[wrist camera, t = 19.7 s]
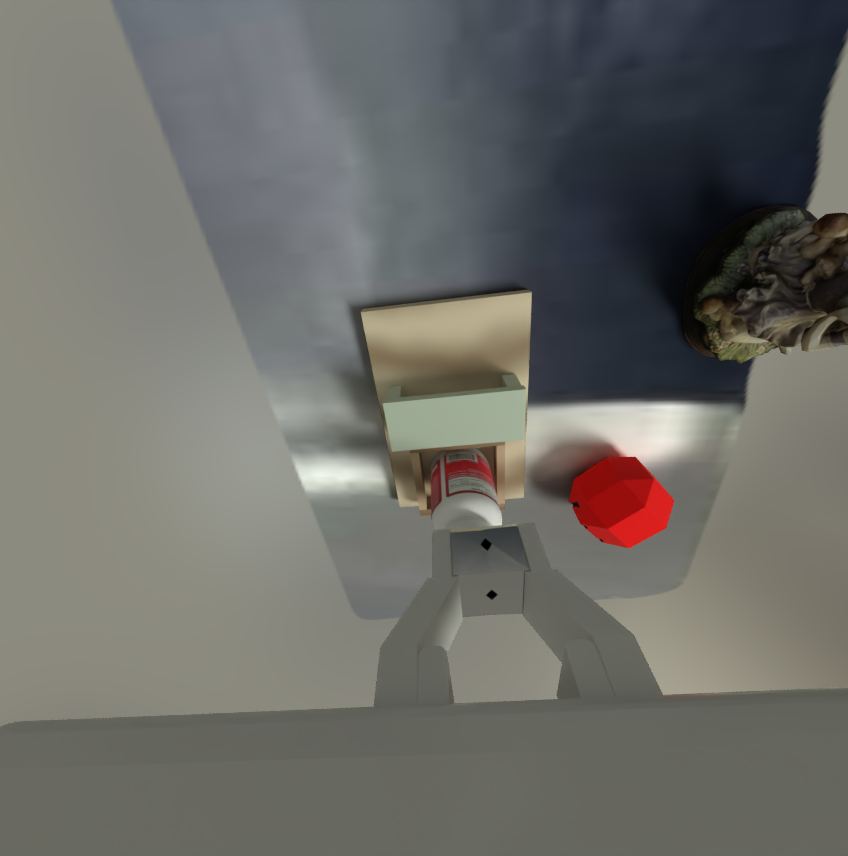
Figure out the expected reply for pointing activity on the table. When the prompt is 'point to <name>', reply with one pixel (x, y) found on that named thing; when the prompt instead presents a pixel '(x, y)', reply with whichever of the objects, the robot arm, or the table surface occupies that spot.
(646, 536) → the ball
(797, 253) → the figurine
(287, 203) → the table surface
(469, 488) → the pill bottle
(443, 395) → the housing cover
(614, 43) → the table surface
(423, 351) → the base
